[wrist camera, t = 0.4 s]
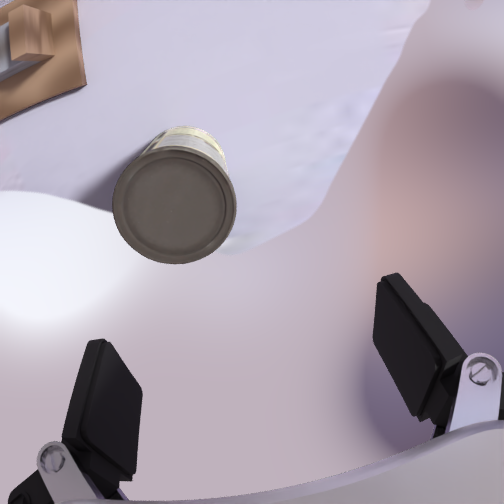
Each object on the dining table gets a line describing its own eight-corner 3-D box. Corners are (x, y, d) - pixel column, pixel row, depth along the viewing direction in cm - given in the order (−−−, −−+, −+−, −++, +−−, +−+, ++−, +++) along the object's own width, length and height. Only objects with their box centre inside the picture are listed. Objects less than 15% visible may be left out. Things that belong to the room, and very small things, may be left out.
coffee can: (221, 209, 41) (229, 268, 28) (141, 203, 39) (114, 260, 27) (232, 129, 36) (245, 153, 24) (145, 122, 34) (112, 144, 22)
